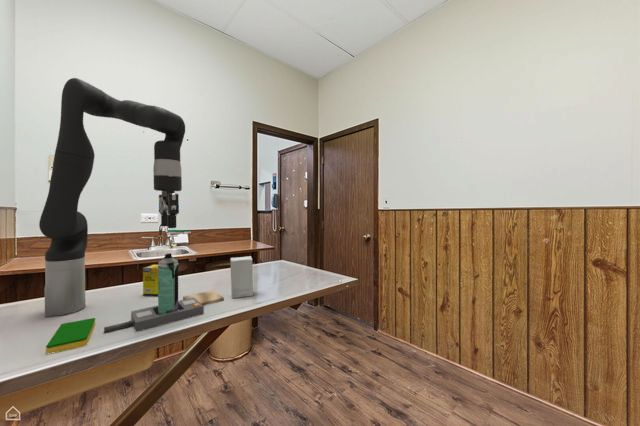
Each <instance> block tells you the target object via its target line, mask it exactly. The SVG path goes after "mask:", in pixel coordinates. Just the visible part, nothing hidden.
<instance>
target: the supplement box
mask: <svg viewBox="0 0 640 426" xmlns="http://www.w3.org/2000/svg"><path fill="white" fill-rule="evenodd" d="M142 296H145V297H146V296H147V297H148V296H149V297H158V264H151V265H148V266H146V267H143V268H142Z"/></svg>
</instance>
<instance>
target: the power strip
mask: <svg viewBox="0 0 640 426" xmlns="http://www.w3.org/2000/svg"><path fill="white" fill-rule="evenodd" d="M204 306H205V305H202V304H201V303H200V302H198V301H197V300H196V299H195V298H190V299H185V300H183V299H182V300H178V311H175V312H171V313H167V314H162V315H158V305H154V306H150V307H145V308H141V309H140V308H139V309H137V310H131V312H130V316H131V317H130V318H131V319H130V320H129V321H126V322H121V323H117V324H113V325H108V326H105V327H103V333H108V332H112V331H117V330H120V329H124V328H129V327H132V326H133V328H134V330H135V332H139V331H143V329H144V330H148V329H150V328H155V327H158V326H162V325H165V324H169V322H170V323H173V321H174V322H178V321H181V320H184V319H185V320H186V319H189V318H192V316H193V317H196V316H200V315H203V313H204V310H205V309H204ZM188 317H189V318H188ZM177 320H178V321H177ZM147 328H148V329H147Z"/></svg>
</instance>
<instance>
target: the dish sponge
mask: <svg viewBox="0 0 640 426" xmlns="http://www.w3.org/2000/svg"><path fill="white" fill-rule="evenodd" d="M95 326H96V318H95V317H92V318H87V319H80V320H76V321H70V322H65V323H62V324H60V325H59V327H58V328H57V330H56V331H55V332H54V334H53V335H52V337H51V339H50V340H49V341H48V343H47V344H46V346H45V348H46V349H45V350H46V351H45V352H46V353H51V354H53V353H52V352H56V353H58V352H57V351H60V352H63V351H62V350H64V351H68V350H67V349H69V350H72V348H73V349H77V348H82V347H86V346H88V344H87V343H89V342H90V341H89V340H90V339H91V335H92V333H93V331H94V328H95ZM85 345H86V346H85ZM46 353H45V354H46Z"/></svg>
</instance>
